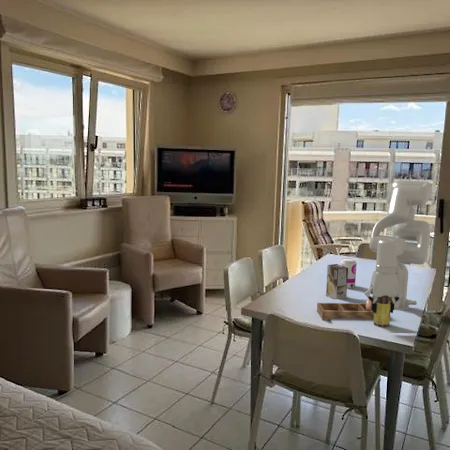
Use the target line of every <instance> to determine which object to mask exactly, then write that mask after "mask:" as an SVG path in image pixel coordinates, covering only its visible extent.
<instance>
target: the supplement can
mask: <svg viewBox="0 0 450 450" xmlns="http://www.w3.org/2000/svg"><path fill="white" fill-rule="evenodd" d="M356 261H357V260H356V259H354V258H347V257H346V258H342V260H341V261H340V265H341V266H344V267H347V268H348V279H347V289H354V287H356V277H357V265H358V264H357V262H356Z"/></svg>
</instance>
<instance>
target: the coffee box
mask: <svg viewBox="0 0 450 450" xmlns="http://www.w3.org/2000/svg"><path fill="white" fill-rule="evenodd" d="M326 269H327V270H326V291H325V296H327V297H329V298H331V299H332V300H347V294H348V292H347V291H348V288H347V279H348V268H347V267H344V266H341V264H338V263H334V264H333V263H332V264H328V265H327V268H326Z"/></svg>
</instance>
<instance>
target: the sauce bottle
mask: <svg viewBox="0 0 450 450" xmlns="http://www.w3.org/2000/svg"><path fill="white" fill-rule="evenodd" d="M376 304H377V307H376V313H374V319H373V325H374V326H376V327H378V328H388V327H389V326H390V323H391V322H390V320H391V312H390V310H391V297H389V296H387V295H384V296H382V297H378V299H377V301H376Z"/></svg>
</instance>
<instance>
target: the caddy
mask: <svg viewBox="0 0 450 450" xmlns="http://www.w3.org/2000/svg"><path fill="white" fill-rule="evenodd" d="M316 312H317V313H318V315H319V318H321V320H322V321H331V319H359V320H361V319H362V320H363V319H364V320H367V319H369V320H370V319H371V320H374V312H373V311H366V302H365V303H364V302H361V303H360V302H359V303H358V302H357V303H355V302H354V303H353V302H317V304H316Z"/></svg>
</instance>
